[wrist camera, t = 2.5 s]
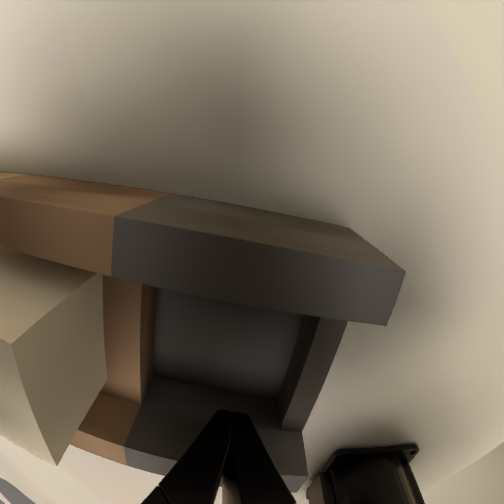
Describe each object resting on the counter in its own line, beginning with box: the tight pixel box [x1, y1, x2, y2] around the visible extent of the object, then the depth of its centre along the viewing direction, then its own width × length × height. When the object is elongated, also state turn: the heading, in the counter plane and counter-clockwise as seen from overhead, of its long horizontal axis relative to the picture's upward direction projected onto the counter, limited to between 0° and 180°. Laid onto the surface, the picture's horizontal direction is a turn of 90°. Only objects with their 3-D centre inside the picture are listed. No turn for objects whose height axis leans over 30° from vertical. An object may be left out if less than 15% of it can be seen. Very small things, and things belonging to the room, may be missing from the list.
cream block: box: [0, 246, 108, 466], centre depth 8 cm, size 5×5×5 cm
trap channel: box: [0, 172, 406, 492], centre depth 10 cm, size 23×10×5 cm, turn 79°
